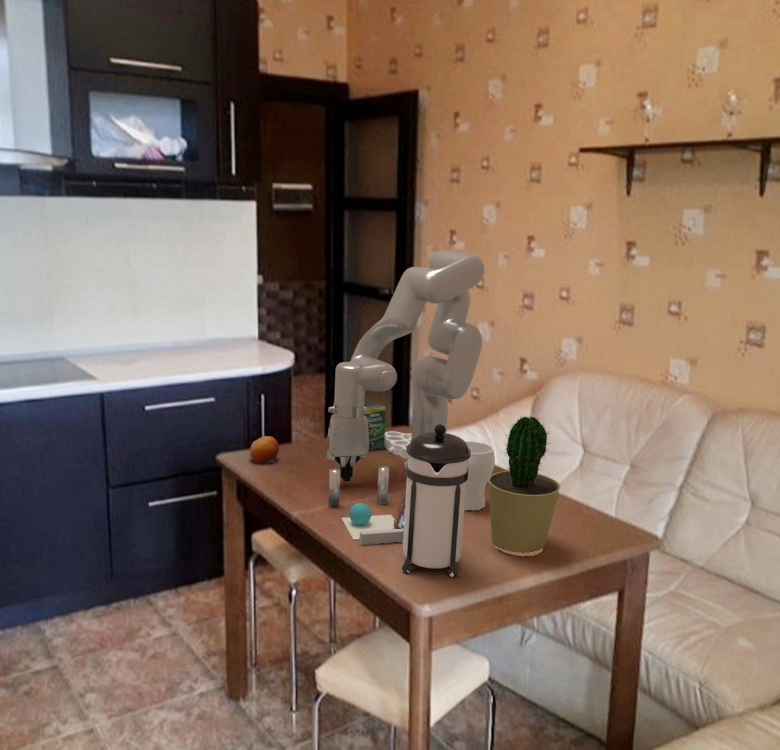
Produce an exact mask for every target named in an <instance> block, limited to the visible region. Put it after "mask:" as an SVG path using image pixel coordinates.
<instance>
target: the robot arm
mask: <svg viewBox="0 0 780 750" xmlns="http://www.w3.org/2000/svg"><path fill="white" fill-rule="evenodd" d="M484 274H485V265H484V261H483V260H482V259H481V257H479V256H478V255H476V254H473V253H467V252H462V251H461V252H460V251H453V250H447V249H445V250H443V249H442V250H438V251H436V252H433V254H432V255H431V257H430V259H429V267H424V266H411V267H409V268H407V269H406V270H405V271H404V272H403V274H402V275H401V277H400V280H399V281H398V284H397V285H396V288H395V291H394V293H393V295H392V296H391V299H390V302H389V304H388V306H387V308H386V310H385V313H384V314H383V317H382V318H381V319H379V321H377V322H376V323H375V324H374V325H372V327H371V328H370V329H368V331H367V332H365V333H364V335H363V336H362V337H361V339H360V340H359V341H358V343H357V345H356V347H355V350H354V352H353V354H352V356H351V359H350V361H342V362H339V363H338V364H337V365H336V367H335V375H334V377H335V378H334V400H333V401H334V402H333V405H332V406H329V407H328V408H327V409H328V413H331V414H332V415H331V416H330V420H329V421H330V422H329V425H328V431H327V432H328V433H327V440H326V448H327V452H326V455H325V457H326V458H327V460H330V461H336V462H337V463H338V465H340V467H339V469H340V479H341V480H342V481H343V482H344V483H346V482H348V483H349V482H351V480H352V479H351V478H353V474H354V467H355V466H356V464H357V462H358V461H360V460H363V459H365V458H366V459H367V458H368V457H369V454H368V453H369V451H368V450H369V434H368V422H367V417H366V416H365V415H364V407H365V393H366V392H386V391H389V390H390V389H392V388H393V387H394V386H395V385H396V383H397V380H398V373H397V371H396V368H395V367H394V366H392V365H391V364H390V363H387V362H386V361H383V360H379V359H378V357H379V355H380V354H381V352H382V350H383V349H384V348H385V347H386V346H387V345H388V344H389V343H391V342H393V341H394V340H396V339H398V338H399V339H400V338H401V337H404V336H406V335H409V334H411V333H412V332H413V331H414V330H415V328H416V326H417V323H418V321H419V318H420V316H421V314H422V312H423V310H424V308H425V305H426V303H429V304H436V309H435V312H434V315H433V318H432V322H431V325H430V328H429V333H428V335H427V343H428V345H429V347H430V348H431V349H432V350H433V351H434V352H437V353H440V354H443V355H446V356H448V357H447V359H445V358H441V357H438V356H436V355H435V356H433V355H426V356H425V355H424V356H421V357H420V358H418V359H417V360H416V361H415V362H414V363H413V366H412V368H411V372H410V373H411V375H410V376H411V387H412V396H413V403H412V405H413V406H412V418H411V433H412V434H411V440H412V439H413V438H414V437H416V436H418V435H420V434H424V433H431V432H435V430H434V429H435V427H436V426H437V425H438V424H442V425H444V426H445V429H446V431H445V433H447V426H448V416H449V405H448V399H449V400H458V399H461V398H462V397H464V396H465V394H467V392H468V390H469V388H470V386H471V383H472V380H473V377H474V374H475V371H476V368H477V365H478V362H479V359H480V355H481V351H482V347H483V338H482V334H481V331H480V330H479V328H477V326H476V325H474V324H472V323H468V322H467V319H468V318H467V317H468V315H469V309H470V305H471V297H470V291H469V290H471V289H472V288H474V287H476V286H477V285H478V284H479V283H481V280H482V279H483V277H484ZM346 457H348V459H347V462H346ZM407 463H408V459H406V461H405V462H404V463H403V468H404V470H405V471H406V466H407Z"/></svg>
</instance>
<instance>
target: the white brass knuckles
mask: <svg viewBox="0 0 780 750" xmlns="http://www.w3.org/2000/svg"><path fill="white" fill-rule="evenodd" d="M411 434H412V432H411V433H410V432H409V433H405V432H404V433H403V432H401V431H394V430H392V431H385V444H384V449H385V448H386V449H385V450H387V449H388V451H389V452H390V453H391V454H393V455H395V456H396V455H397V456H399V455H400V457H401V458H402V459H406V460H408V454H407V446H408V445H409V444H410V442H411Z"/></svg>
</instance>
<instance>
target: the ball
mask: <svg viewBox="0 0 780 750" xmlns="http://www.w3.org/2000/svg"><path fill="white" fill-rule="evenodd" d="M371 516H372V511H371V508H370V506H368V505H367V504H365V503H362V502H358V503H355V504H354V505H352V506H351V507H350V510H349V514H348V517H350V519H351V521H352V522H353V523H354V524H356V525H364V524H366V523H368V522H369V520H370V518H371Z"/></svg>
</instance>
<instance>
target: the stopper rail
mask: <svg viewBox="0 0 780 750" xmlns="http://www.w3.org/2000/svg"><path fill="white" fill-rule="evenodd" d="M400 528H401V529H387V530H372V531H360V539H359V542H358V543H359V545H361V546H369V545H380V543H384V544H390V543H389V542H398V543H402V542H401V541H403V537H404V527H400Z"/></svg>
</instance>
